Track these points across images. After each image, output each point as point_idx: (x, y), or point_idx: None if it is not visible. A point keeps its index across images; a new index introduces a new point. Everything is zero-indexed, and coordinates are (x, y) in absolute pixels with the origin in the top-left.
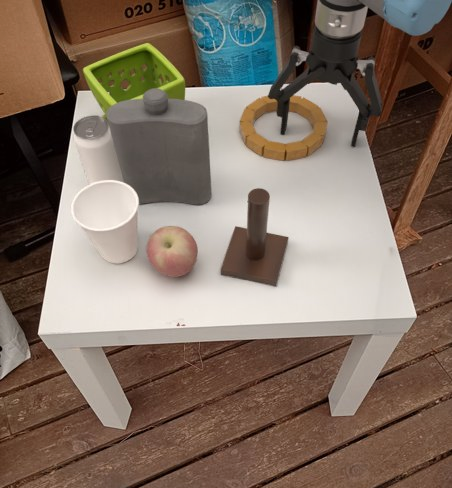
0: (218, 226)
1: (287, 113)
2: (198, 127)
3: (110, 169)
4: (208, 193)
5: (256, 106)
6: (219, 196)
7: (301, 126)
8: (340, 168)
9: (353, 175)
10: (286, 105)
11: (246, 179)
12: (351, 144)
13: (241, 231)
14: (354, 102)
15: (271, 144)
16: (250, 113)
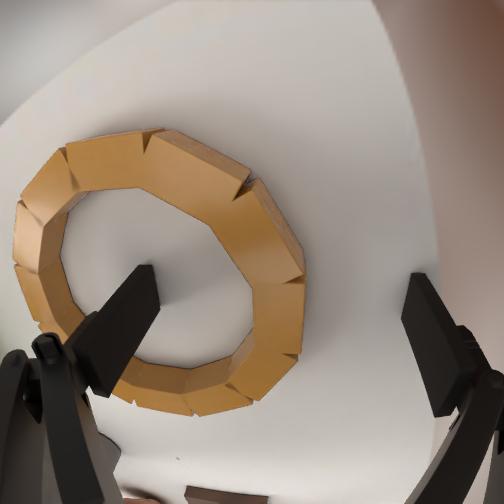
0: (160, 478)
1: (125, 332)
2: None
3: None
4: (115, 464)
5: (30, 251)
6: (129, 447)
7: (203, 251)
8: (362, 391)
9: (394, 401)
10: (104, 394)
11: (148, 427)
12: (403, 324)
13: (196, 501)
14: (419, 482)
15: (147, 397)
16: (34, 287)
